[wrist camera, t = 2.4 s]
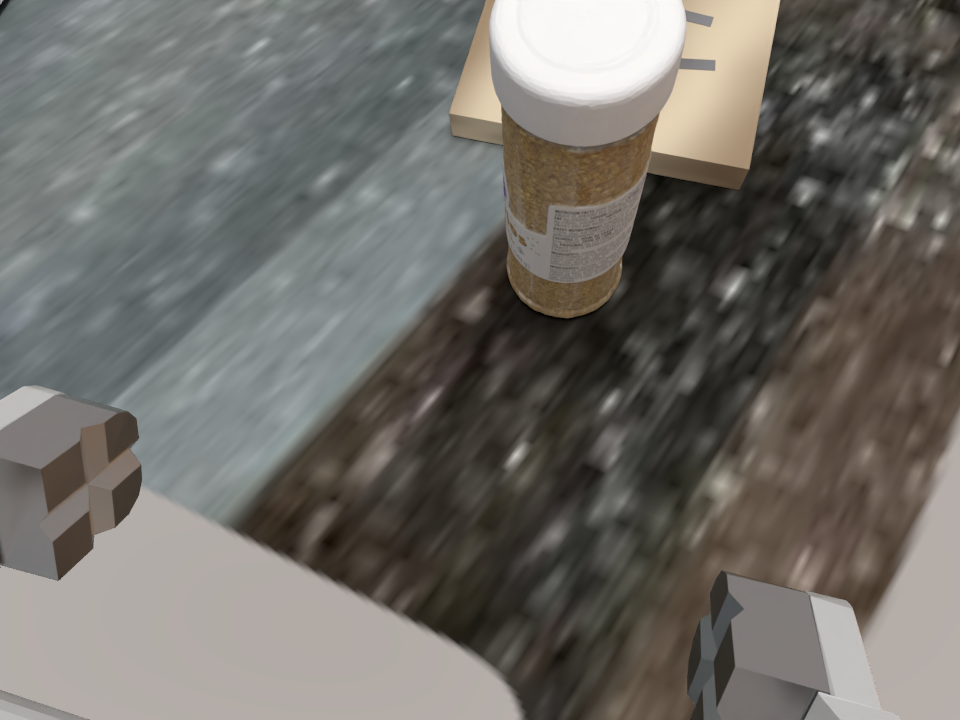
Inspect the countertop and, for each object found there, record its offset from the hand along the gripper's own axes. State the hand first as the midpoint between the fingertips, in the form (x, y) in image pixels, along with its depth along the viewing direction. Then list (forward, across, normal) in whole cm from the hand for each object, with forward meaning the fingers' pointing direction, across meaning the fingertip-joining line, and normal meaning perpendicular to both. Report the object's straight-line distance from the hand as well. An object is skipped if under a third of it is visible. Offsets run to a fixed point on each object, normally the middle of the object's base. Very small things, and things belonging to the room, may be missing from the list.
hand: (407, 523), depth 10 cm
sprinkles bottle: (+21, 0, -4) cm, 21 cm away
